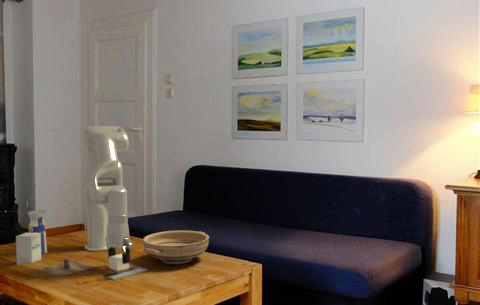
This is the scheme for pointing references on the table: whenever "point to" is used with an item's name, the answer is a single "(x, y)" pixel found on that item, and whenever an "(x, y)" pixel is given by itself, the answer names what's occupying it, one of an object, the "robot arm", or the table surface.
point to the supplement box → (28, 247)
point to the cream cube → (117, 263)
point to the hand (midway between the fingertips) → (119, 261)
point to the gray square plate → (125, 273)
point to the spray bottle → (38, 226)
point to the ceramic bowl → (176, 245)
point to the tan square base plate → (66, 268)
